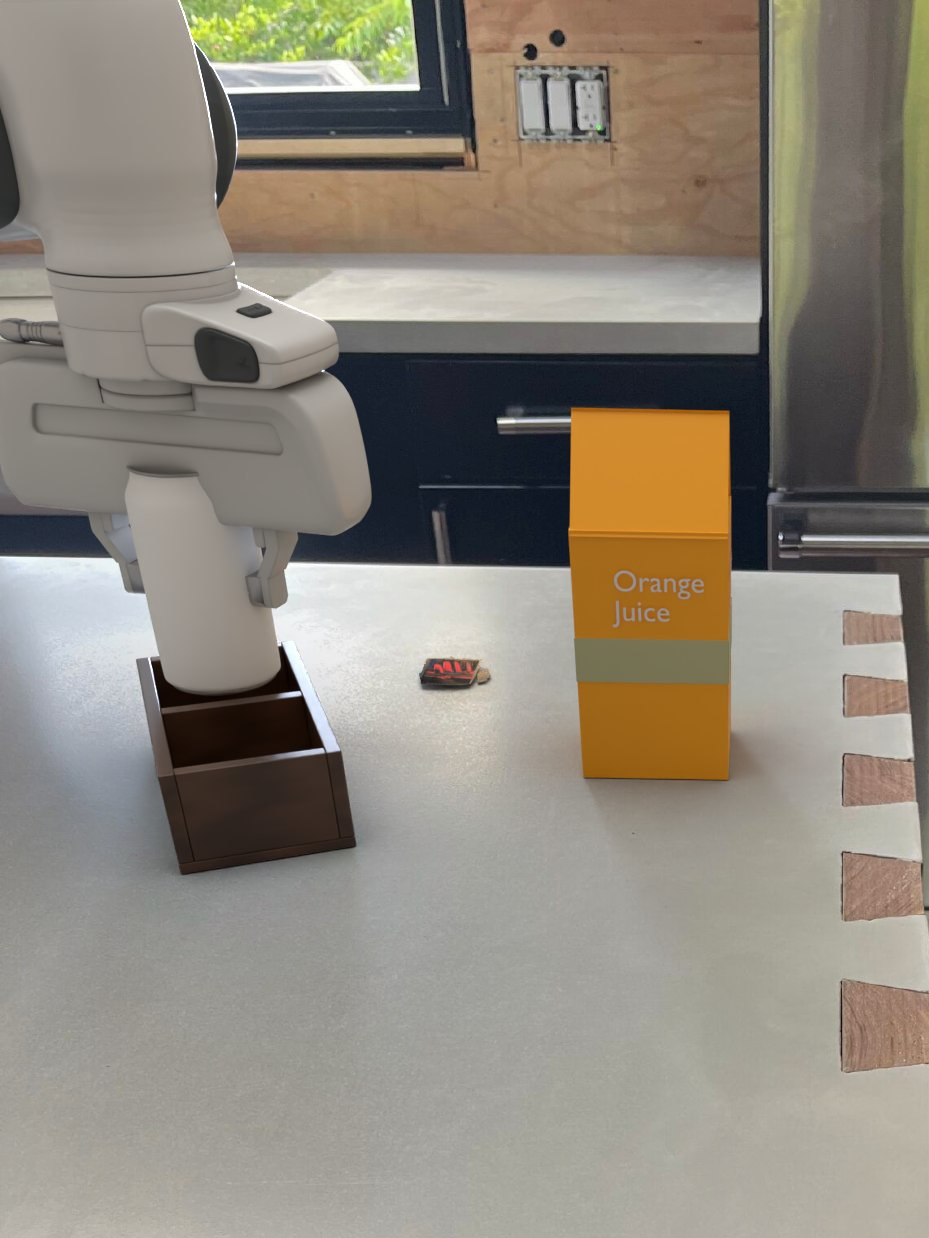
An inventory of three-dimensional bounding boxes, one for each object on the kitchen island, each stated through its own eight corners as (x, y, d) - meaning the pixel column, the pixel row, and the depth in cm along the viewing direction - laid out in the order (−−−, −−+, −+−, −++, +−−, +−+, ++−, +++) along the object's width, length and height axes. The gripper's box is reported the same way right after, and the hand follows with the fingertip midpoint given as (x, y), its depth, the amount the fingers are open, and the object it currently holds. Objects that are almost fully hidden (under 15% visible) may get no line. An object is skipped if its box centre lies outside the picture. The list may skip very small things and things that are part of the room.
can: (238, 705, 83) (194, 482, 76) (140, 688, 84) (89, 468, 78) (304, 665, 88) (269, 453, 81) (211, 650, 90) (169, 441, 83)
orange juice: (729, 780, 89) (729, 427, 77) (581, 778, 89) (559, 424, 77) (732, 728, 95) (732, 395, 84) (594, 726, 95) (575, 391, 84)
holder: (180, 875, 78) (157, 776, 75) (156, 746, 91) (135, 658, 88) (356, 846, 81) (341, 751, 78) (308, 726, 94) (293, 640, 91)
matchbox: (421, 690, 99) (420, 683, 99) (417, 662, 103) (416, 656, 103) (491, 685, 100) (491, 678, 100) (485, 658, 104) (484, 652, 104)
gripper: (-67, 325, 75) (8, 597, 83) (305, 353, 71) (347, 635, 79) (13, 305, 80) (77, 564, 88) (365, 331, 76) (399, 597, 84)
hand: (208, 598), depth 83 cm, fingers closed on can, 6 cm apart
